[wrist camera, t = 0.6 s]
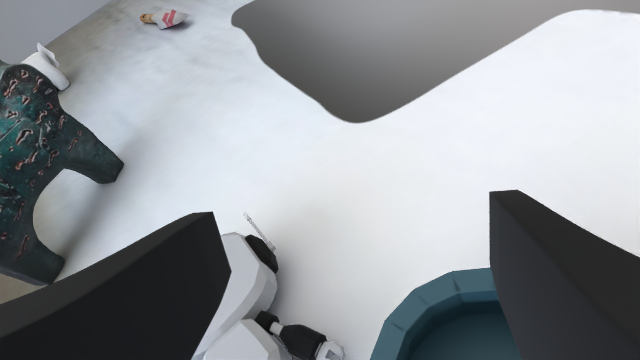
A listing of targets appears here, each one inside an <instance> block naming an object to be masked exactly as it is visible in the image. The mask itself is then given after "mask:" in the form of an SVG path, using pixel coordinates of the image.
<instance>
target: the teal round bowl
mask: <svg viewBox="0 0 640 360" xmlns="http://www.w3.org/2000/svg"><path fill="white" fill-rule="evenodd" d="M370 360H522V358H521V355H520V353H519V350H518V348H517V345H516V343H515V340H514V338H513V335H512V333H511V330H510V328H509V325H508V322H507V320H506V317H505V315H504V312H503V310H502V307H501V304H500V302H499V299H498V295H497V291H496V287H495V283H494V279H493V275H492V271H491V268H482V269H471V270H461V271H452V272H449V273H447V274H445V275H443V276H441V277H439V278H436V279H434V280H432V281H430V282H428V283H426V284H424V285H422V286H420V287H418V288H416V289H414V290H413V291H412V292H411V293H410V294H409V295H408V296H407V297H406V298H405V299H404V300H403V302H402V303H401V304H400V305H399V306H398V307H397V308H396V309H395V310H394V311H393V312H392V313H391V314H390V316H389V317H388V318H387V319H386V320H385V322H384V324H383V327H382V329H381V332H380V335H379V337H378V340H377V342H376V345H375V348H374V350H373V353H372V355H371V358H370Z"/></svg>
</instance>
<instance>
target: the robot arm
mask: <svg viewBox="0 0 640 360" xmlns="http://www.w3.org/2000/svg"><path fill="white" fill-rule="evenodd" d="M489 206H490V266H491V271H492V275H493V279H494V283H495V287H496V291H497V295H498V299H499V302H500V304H501V307H502V310H503V312H504V315H505V317H506V320H507V322H508V325H509V328H510V330H511V333H512V335H513V338H514V340H515V343H516V345H517V348H518V350H519V353H520V355H521V358H522V360H640V257H638V256H636V255H633V254H631V253H629V252H627V251H625V250H623V249H621V248H619V247H617V246H615V245H613V244H611V243H609V242H607V241H605V240H603V239H601V238H599V237H598V236H596V235H594V234H592V233H590V232H588V231H587V230H585V229H583V228H581V227H579V226H578V225H576V224H574V223H573V222H571V221H569V220H567V219H566V218H564V217H562V216H561V215H559V214H557V213H556V212H554V211H552V210H551V209H549V208H548V207H546V206H544V205H543V204H541V203H539V202H538V201H536V200H535V199H533V198H531V197H530V196H528V195H526V194H525V193H523V192H521V191H519V190H507V191H493V192H489ZM231 273H232V271H231V267H230V264H229V261H228V258H227V255H226V252H225V249H224V245H223V242H222V239H221V236H220V233H219V230H218V227H217V224H216V220H215V217H214V214H213V212H200V213H192V214H189V215H186V216H184V217H182V218H180V219H178V220H175V221H173V222H172V223H170V224H168V225H166V226H164V227H162V228H160V229H158V230H156V231H155V232H153V233H151V234H149V235H147V236H145V237H144V238H142V239H140V240H138V241H136V242H135V243H133V244H131V245H129V246H127V247H126V248H124V249H122V250H120V251H118V252H116V253H114V254H112V255H110V256H108V257H106V258H104V259H103V260H101V261H99V262H97V263H95V264H93V265H91V266H89V267H87V268H85V269H83V270H81V271H79V272H77V273H75V274H73V275H71V276H68V277H66V278H64V279H62V280H60V281H57V282H55V283H53V284H51V285H48V286H46V287H44V288H41V289H39V290H37V291H34V292H32V293H29V294H27V295H24V296H22V297H19V298H16V299H14V300H11V301H8V302H6V303H3V304H0V360H191V359H192V357H193V355H194V353H195V352H196V350H197V348H198V346H199V344H200V342H201V340H202V338H203V337H204V335H205V333H206V331H207V329H208V327H209V325H210V323H211V321H212V320H213V318H214V316H215V314H216V312H217V310H218V308H219V306H220V304H221V301H222V299H223V296H224V293H225V291H226V288H227V285H228V282H229V279H230V276H231Z"/></svg>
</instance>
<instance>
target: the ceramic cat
mask: <svg viewBox="0 0 640 360" xmlns="http://www.w3.org/2000/svg"><path fill="white" fill-rule="evenodd" d="M123 165H124V163H123V162H122V161H121V160H120V159H119V158H118V157H117V156H116V155H115V154H114V153H113V151H111V150H110V149H109V148H108V147H107V146H106V145H104V144H103V143H102V142H101V141H100V140H99V139H98V138H97V137H96V136H95V135H94V134H93V132H91V131H90V130H89V129H88V128H87V127H85V126H84V125H83V124H81V123H80V122H78V121H77V120H76V119H75V118H73V117H72V116H71V115H69V114H67V113H66V112H65V111H64V110H63V109H62V108H61V106H60V103H59V99H58V94H57V90H56V88H55V86H54V84H53V83H52V81H51V80H50V79H49V78H48V77H47V76H46V75H44V74H43V73H42V72H40V71H39V70H38V69H36V68H35V67H33V66H31V65H28V64H25V63H18V64H12V65H11V64H7V63H5V62H3V61H1V60H0V273H2V274H4V275H7V276H10V277H13V278H16V279H19V280H22V281H25V282H27V283H30V284H33V285H51V284H52V282H53V281H54V280H55V278H56V277H57V275H58V274H59V272H60V270H61V269H62V267H63V265H64V262H65V259H64V258H62V257H61V256H59V255H57V254H55V253H54V252H52V251H51V250H49V249H48V248H47V247H46V246H45V245H43V244H42V242H41V241H39V239H38V238H37V235H36V232H35V230H34V227H33V210H34V206H35V203H36V201H37V199H38V197H39V196H40V194H41V192H42V191H43V190H44V188H45V187H46V186H47V185H48V184H49V183H50V182H51V181H52V180H53V179H54V178H55V177H56V176H57V175H58V174H59V173H60V172H61V171H62V170H63V169H70V170H73V171H76V172H78V173H81V174H83V175H85V176H87V177H89V178H90V179H92V180H94V181H95V182H97V183H99V184H105V183H109V182H114V181H115V180H116V177H117V174H118V173H119V171H120V170H121V168H122V167H123Z"/></svg>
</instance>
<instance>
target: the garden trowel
mask: <svg viewBox="0 0 640 360" xmlns="http://www.w3.org/2000/svg"><path fill="white" fill-rule="evenodd" d="M187 16H189V15H187V14H184V13H181V12H178V11H175V10H172V9H169V8H166V7H165V8H164V9H162V10H161V11H160V12H158V13H157V14H142V15H141V16H140V19H141V21H142V22H143V23H147V22H148V23H157V24H158V26H159V28H160V29H164V28H167V27H170V26H173V25H176V24H179V23H180V22H181V21H182V20H184V19H185V18H186V17H187Z"/></svg>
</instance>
